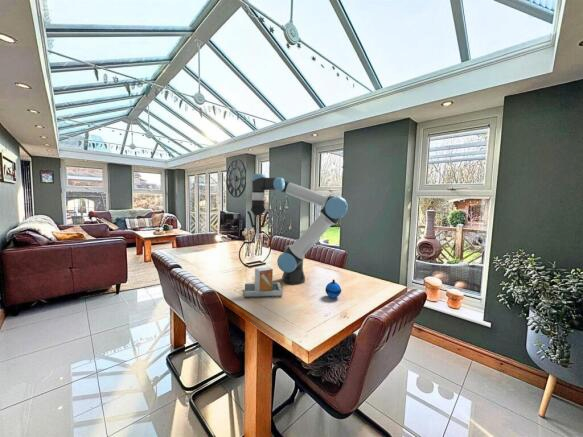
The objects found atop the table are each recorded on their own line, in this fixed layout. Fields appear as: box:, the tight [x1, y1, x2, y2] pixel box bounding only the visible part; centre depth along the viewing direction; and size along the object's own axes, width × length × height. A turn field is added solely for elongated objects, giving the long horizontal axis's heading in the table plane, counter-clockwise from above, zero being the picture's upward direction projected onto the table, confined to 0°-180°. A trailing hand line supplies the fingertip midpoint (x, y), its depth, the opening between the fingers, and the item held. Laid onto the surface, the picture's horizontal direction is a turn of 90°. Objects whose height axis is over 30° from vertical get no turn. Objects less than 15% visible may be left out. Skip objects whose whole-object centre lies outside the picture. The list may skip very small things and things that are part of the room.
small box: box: [254, 266, 274, 291], centre depth 138 cm, size 8×6×13 cm
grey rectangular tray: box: [243, 281, 283, 299], centre depth 139 cm, size 20×13×4 cm, turn 99°
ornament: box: [325, 279, 342, 299], centre depth 136 cm, size 9×9×10 cm
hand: (257, 238), depth 152 cm, fingers closed
